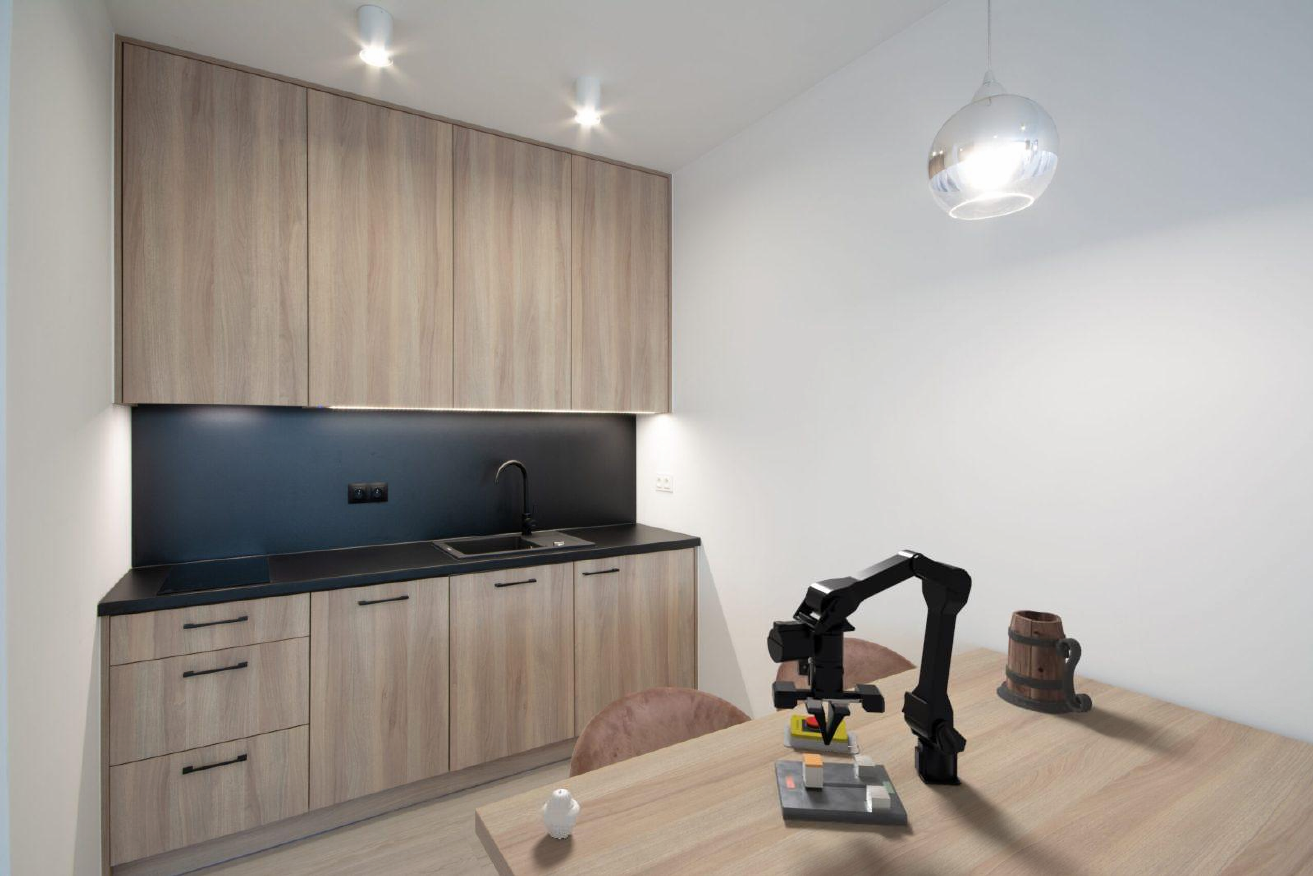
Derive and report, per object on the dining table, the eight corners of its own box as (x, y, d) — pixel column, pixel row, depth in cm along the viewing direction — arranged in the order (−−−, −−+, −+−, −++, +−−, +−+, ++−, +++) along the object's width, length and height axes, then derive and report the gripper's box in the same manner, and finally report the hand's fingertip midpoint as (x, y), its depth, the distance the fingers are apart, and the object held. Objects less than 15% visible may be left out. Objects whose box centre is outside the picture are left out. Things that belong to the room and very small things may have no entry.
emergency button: (783, 707, 138) (855, 714, 135) (783, 727, 138) (855, 735, 135) (782, 727, 129) (859, 735, 126) (782, 748, 129) (859, 757, 126)
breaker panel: (883, 775, 118) (883, 754, 118) (907, 826, 103) (907, 802, 103) (775, 770, 120) (775, 749, 120) (783, 819, 105) (783, 795, 105)
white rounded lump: (546, 850, 98) (546, 805, 98) (537, 827, 103) (537, 785, 103) (584, 839, 100) (584, 796, 100) (574, 817, 106) (573, 776, 106)
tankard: (980, 686, 159) (981, 607, 158) (1040, 681, 161) (1041, 603, 161) (1053, 730, 136) (1053, 637, 135) (1122, 724, 138) (1122, 633, 138)
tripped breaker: (819, 776, 114) (819, 754, 114) (822, 787, 110) (822, 765, 110) (802, 775, 114) (802, 753, 114) (805, 786, 110) (805, 764, 110)
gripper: (870, 642, 118) (869, 725, 119) (769, 639, 120) (769, 721, 120) (885, 665, 107) (885, 756, 108) (774, 661, 109) (774, 750, 109)
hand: (826, 744), depth 112 cm, fingers closed
